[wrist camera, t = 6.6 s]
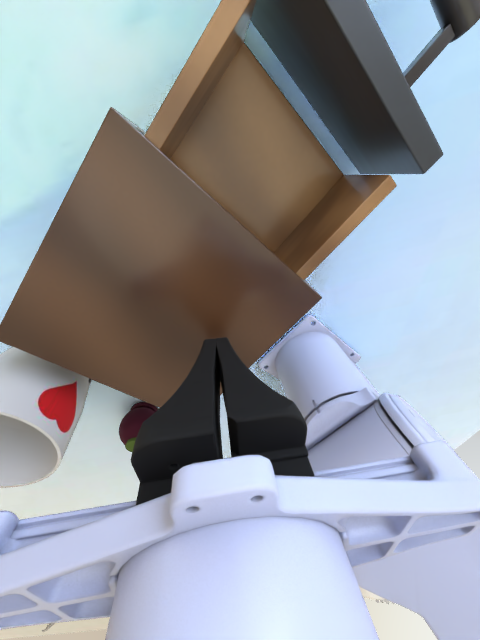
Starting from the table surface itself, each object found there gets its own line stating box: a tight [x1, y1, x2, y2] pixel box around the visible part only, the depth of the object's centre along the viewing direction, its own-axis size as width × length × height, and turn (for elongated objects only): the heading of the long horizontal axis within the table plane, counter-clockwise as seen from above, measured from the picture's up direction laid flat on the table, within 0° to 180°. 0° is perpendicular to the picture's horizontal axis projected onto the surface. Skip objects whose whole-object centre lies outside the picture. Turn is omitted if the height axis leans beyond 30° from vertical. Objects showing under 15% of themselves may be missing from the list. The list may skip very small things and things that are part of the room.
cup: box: [0, 347, 92, 488], centre depth 19 cm, size 8×8×10 cm
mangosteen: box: [119, 402, 157, 452], centre depth 27 cm, size 4×4×4 cm
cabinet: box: [0, 107, 322, 408], centre depth 18 cm, size 13×13×8 cm
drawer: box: [144, 0, 480, 280], centre depth 14 cm, size 17×12×6 cm
